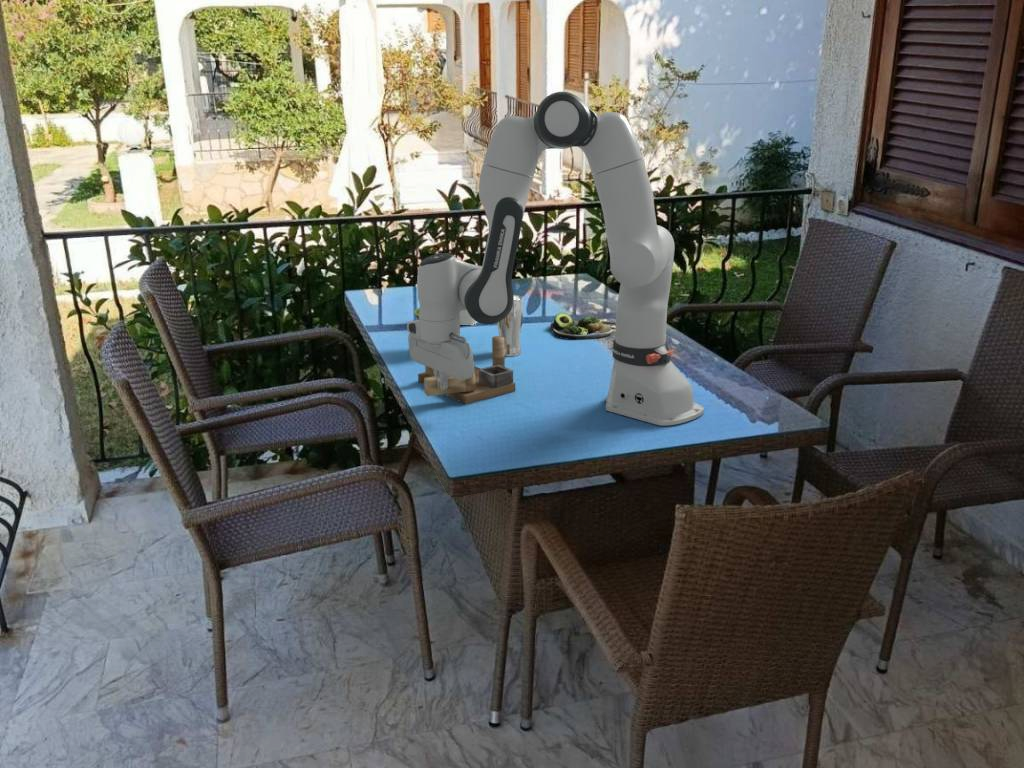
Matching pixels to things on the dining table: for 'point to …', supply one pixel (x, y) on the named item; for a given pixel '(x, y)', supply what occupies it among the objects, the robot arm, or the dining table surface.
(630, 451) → the dining table surface
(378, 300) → the dining table surface
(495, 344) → the oak leg peg
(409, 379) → the dining table surface
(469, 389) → the hinged leg
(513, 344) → the beer glass
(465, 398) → the wooden assembly base board
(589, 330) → the salad plate
